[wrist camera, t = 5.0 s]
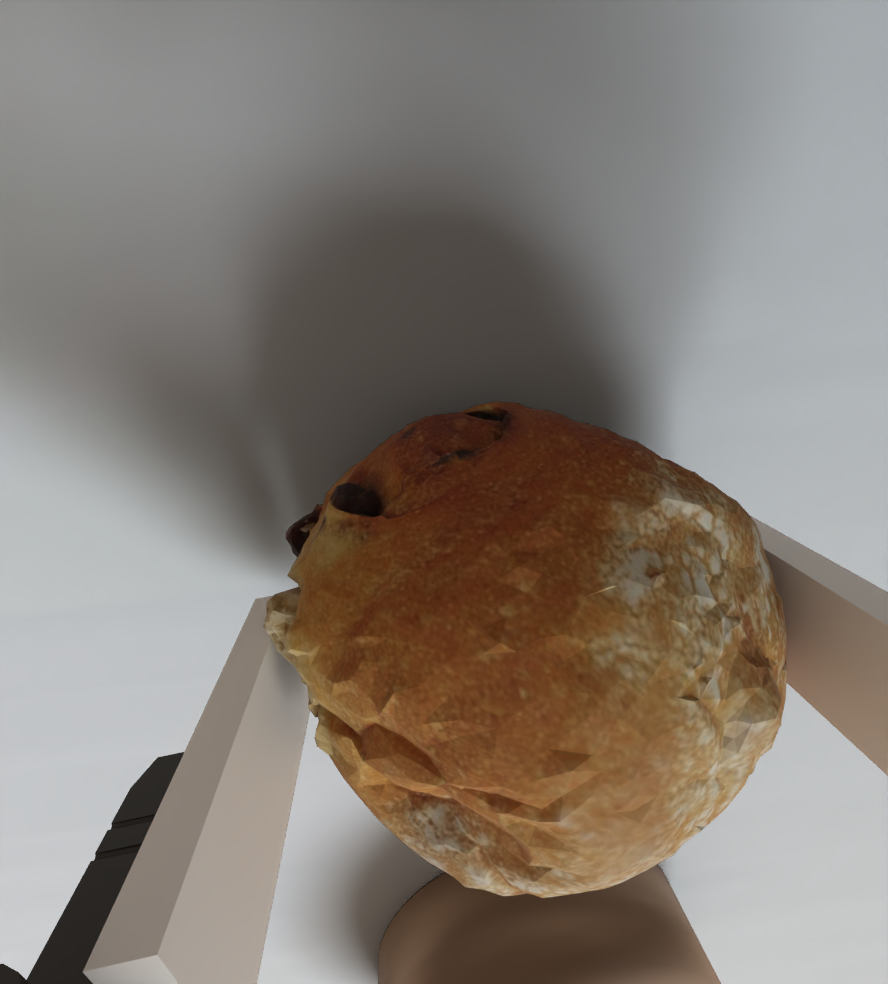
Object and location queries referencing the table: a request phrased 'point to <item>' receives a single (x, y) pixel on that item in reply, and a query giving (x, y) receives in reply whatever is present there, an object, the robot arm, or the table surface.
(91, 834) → the table surface
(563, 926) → the walnut stand
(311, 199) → the table surface
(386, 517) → the bread roll
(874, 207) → the table surface
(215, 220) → the table surface
